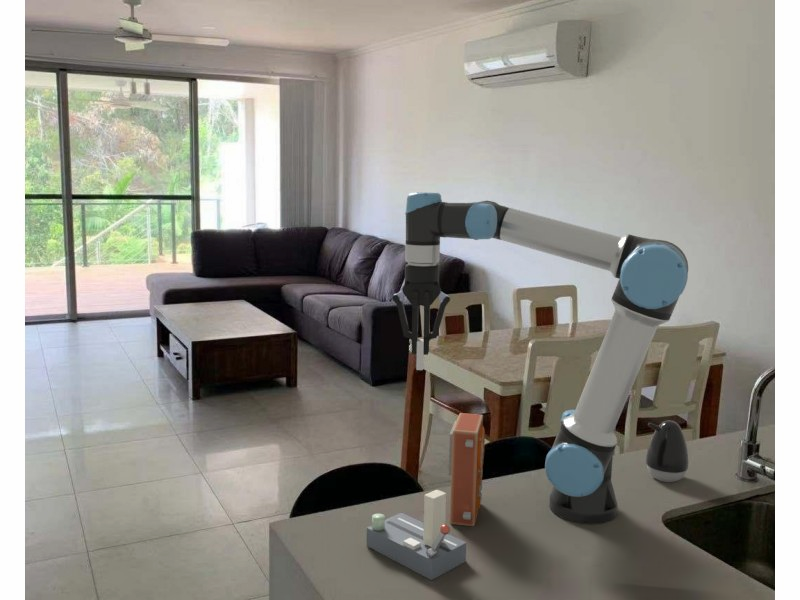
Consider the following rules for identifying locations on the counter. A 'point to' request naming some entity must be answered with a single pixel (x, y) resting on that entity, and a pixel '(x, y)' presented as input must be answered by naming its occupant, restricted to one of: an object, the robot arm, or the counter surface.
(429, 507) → the cream rectangular block
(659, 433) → the pump dispenser
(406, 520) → the switch console
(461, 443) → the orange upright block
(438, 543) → the toggle lever
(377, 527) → the push button
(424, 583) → the counter surface
